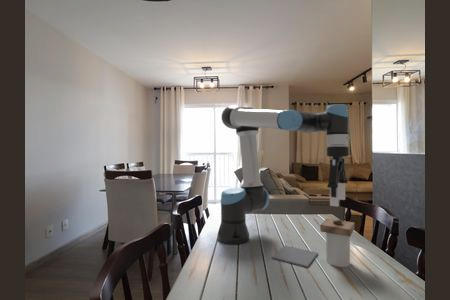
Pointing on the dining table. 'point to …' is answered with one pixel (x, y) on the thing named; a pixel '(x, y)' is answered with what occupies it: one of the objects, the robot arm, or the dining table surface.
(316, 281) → the dining table surface
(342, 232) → the lid
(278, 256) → the mat
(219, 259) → the dining table surface
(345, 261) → the cup
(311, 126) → the robot arm
